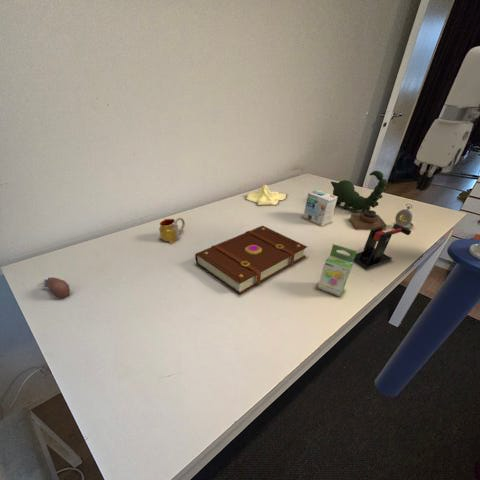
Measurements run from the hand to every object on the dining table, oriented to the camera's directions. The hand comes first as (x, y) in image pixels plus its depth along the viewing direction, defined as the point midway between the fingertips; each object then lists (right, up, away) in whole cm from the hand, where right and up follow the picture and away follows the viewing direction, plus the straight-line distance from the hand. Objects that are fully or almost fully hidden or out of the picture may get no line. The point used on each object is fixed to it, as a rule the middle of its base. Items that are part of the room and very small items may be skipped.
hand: (421, 189), depth 81 cm
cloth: (-42, +22, +53) cm, 71 cm away
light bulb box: (-22, +4, +35) cm, 41 cm away
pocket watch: (+14, 0, +32) cm, 34 cm away
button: (-1, +3, +30) cm, 30 cm away
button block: (-1, +1, +32) cm, 32 cm away
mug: (-82, -8, +22) cm, 85 cm away
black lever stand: (-10, -19, +12) cm, 25 cm away
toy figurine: (-4, +13, +44) cm, 46 cm away
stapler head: (-5, -12, +8) cm, 15 cm away
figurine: (-110, -32, -3) cm, 115 cm away
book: (-52, -20, +10) cm, 57 cm away
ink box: (-29, -31, -1) cm, 43 cm away
